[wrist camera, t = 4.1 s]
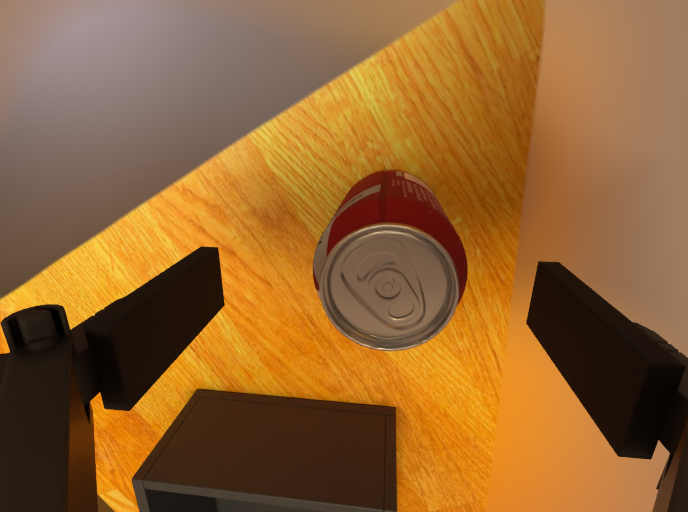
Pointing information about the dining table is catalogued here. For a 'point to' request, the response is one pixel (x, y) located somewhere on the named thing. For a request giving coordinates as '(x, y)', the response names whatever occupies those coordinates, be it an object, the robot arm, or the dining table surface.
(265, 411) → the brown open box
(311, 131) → the dining table surface
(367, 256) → the soda can
